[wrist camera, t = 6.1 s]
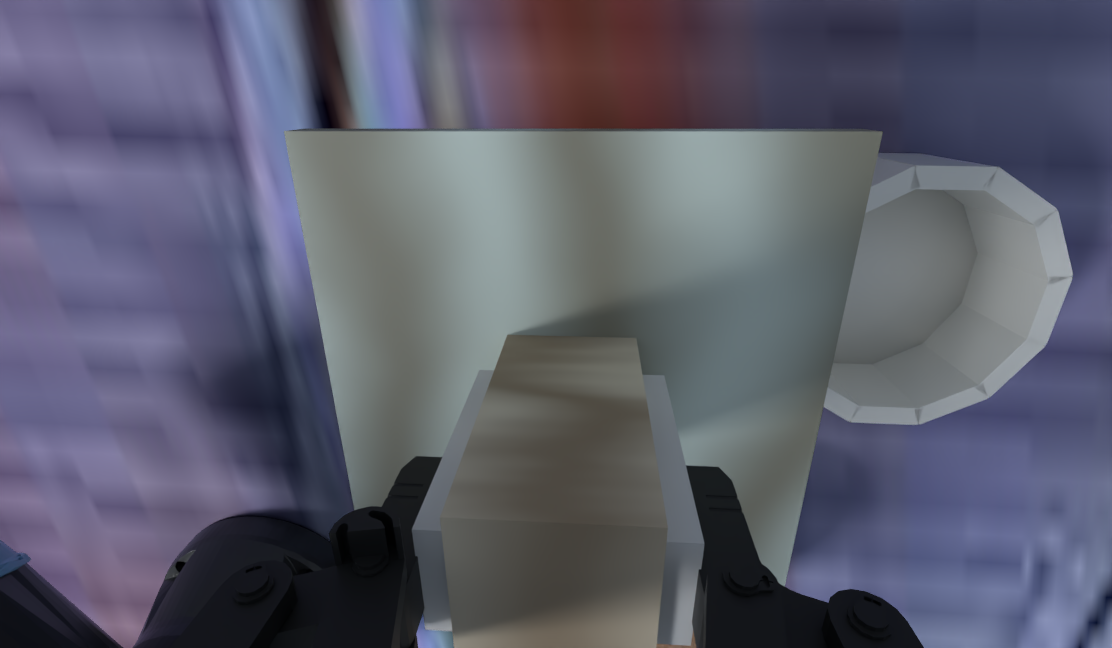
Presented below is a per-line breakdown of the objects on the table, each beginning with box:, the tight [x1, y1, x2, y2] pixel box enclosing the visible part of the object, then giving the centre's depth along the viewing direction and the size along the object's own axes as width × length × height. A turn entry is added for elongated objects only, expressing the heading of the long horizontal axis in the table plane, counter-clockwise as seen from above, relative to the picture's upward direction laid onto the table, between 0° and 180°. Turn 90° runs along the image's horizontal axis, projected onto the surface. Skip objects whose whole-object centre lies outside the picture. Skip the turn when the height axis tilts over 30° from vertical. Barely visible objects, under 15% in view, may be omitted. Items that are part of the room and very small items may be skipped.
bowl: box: [823, 153, 1073, 425], centre depth 29 cm, size 13×13×6 cm
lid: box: [284, 129, 883, 648], centre depth 15 cm, size 16×16×9 cm
